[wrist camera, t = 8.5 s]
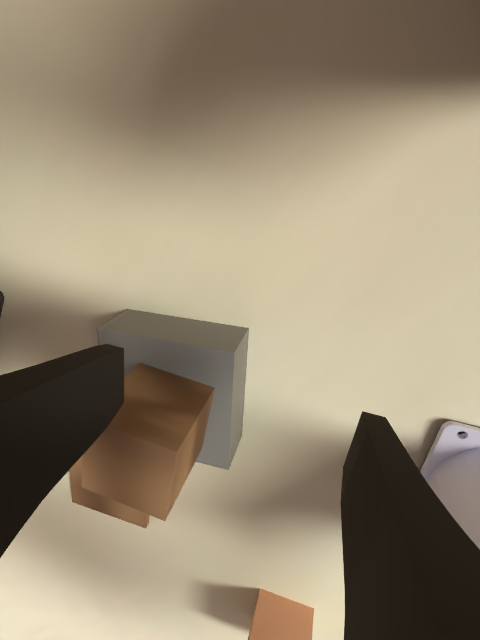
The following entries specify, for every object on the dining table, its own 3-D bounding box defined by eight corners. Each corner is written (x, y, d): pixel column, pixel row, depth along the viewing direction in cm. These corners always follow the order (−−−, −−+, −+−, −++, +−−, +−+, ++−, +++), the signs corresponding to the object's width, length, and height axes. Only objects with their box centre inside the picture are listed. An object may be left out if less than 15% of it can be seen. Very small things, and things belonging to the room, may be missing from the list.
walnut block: (214, 387, 20) (176, 452, 15) (202, 448, 22) (165, 521, 17) (140, 362, 20) (82, 416, 16) (134, 423, 22) (81, 486, 18)
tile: (151, 462, 28) (147, 467, 27) (148, 523, 31) (145, 528, 30) (71, 436, 29) (66, 440, 29) (76, 497, 32) (72, 501, 31)
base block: (250, 325, 22) (234, 352, 18) (243, 431, 25) (228, 469, 22) (129, 306, 23) (96, 328, 20) (137, 408, 27) (110, 440, 23)
